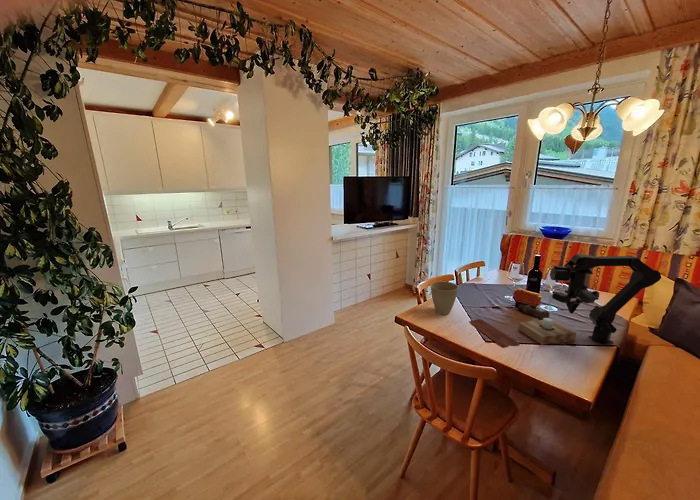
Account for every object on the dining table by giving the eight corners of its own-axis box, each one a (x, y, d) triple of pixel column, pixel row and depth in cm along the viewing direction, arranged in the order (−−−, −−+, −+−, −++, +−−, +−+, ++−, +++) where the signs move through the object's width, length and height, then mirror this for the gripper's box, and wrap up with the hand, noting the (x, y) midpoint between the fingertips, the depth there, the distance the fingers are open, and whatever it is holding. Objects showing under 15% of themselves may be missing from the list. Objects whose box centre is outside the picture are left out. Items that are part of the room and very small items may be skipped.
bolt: (519, 312, 168) (546, 322, 154) (515, 309, 165) (541, 320, 152) (524, 303, 168) (550, 312, 155) (519, 300, 166) (546, 310, 152)
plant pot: (434, 304, 175) (435, 279, 171) (459, 310, 167) (461, 284, 163) (425, 313, 163) (426, 287, 159) (451, 320, 155) (454, 292, 151)
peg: (545, 332, 142) (548, 317, 140) (552, 336, 138) (555, 321, 136) (538, 333, 141) (540, 318, 139) (545, 337, 137) (548, 322, 135)
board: (549, 326, 148) (550, 319, 147) (574, 340, 134) (576, 332, 133) (518, 329, 145) (519, 322, 144) (541, 344, 131) (542, 336, 130)
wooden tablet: (521, 346, 131) (521, 343, 131) (502, 349, 129) (503, 346, 129) (482, 319, 157) (482, 316, 156) (465, 321, 154) (466, 319, 154)
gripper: (576, 289, 122) (570, 323, 126) (612, 286, 126) (605, 319, 129) (553, 281, 133) (548, 312, 137) (587, 278, 136) (581, 308, 140)
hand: (571, 313), depth 135 cm, fingers closed
